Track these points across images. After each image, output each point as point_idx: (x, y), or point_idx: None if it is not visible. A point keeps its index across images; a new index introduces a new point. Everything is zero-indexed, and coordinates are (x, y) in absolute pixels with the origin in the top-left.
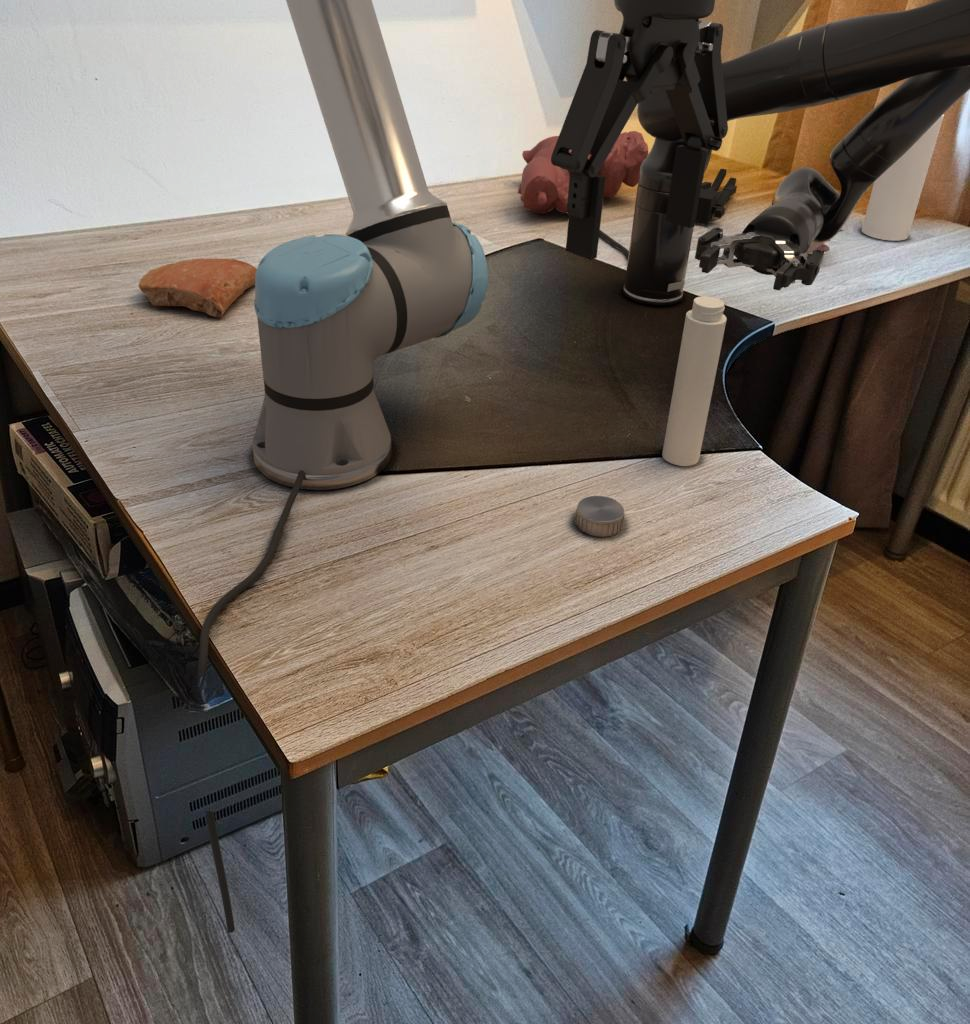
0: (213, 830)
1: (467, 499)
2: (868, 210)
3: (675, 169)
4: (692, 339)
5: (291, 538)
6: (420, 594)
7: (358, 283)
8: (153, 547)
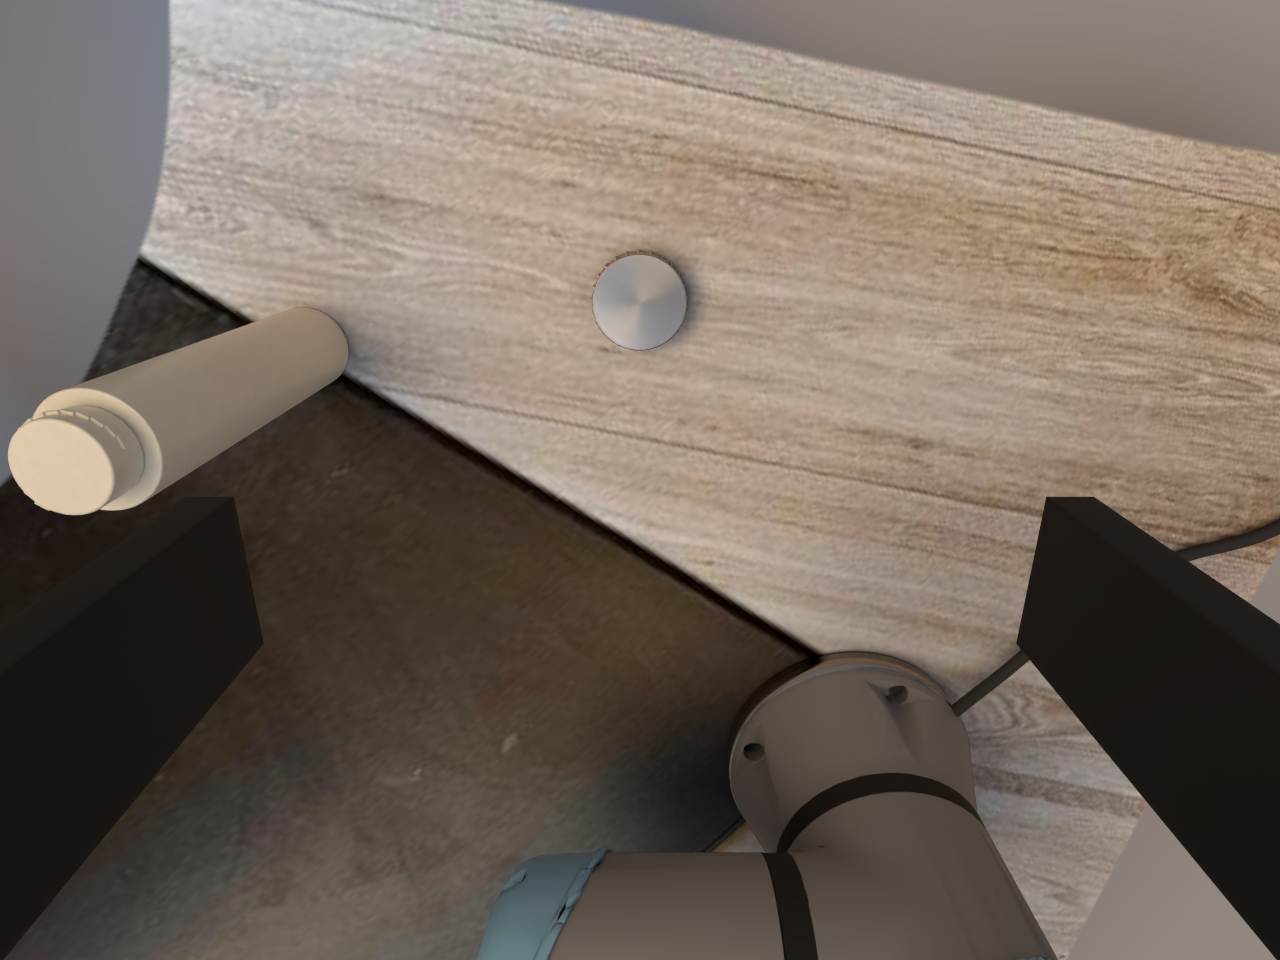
0: None
1: (763, 510)
2: None
3: (77, 846)
4: (193, 429)
5: None
6: (1034, 362)
7: None
8: None
